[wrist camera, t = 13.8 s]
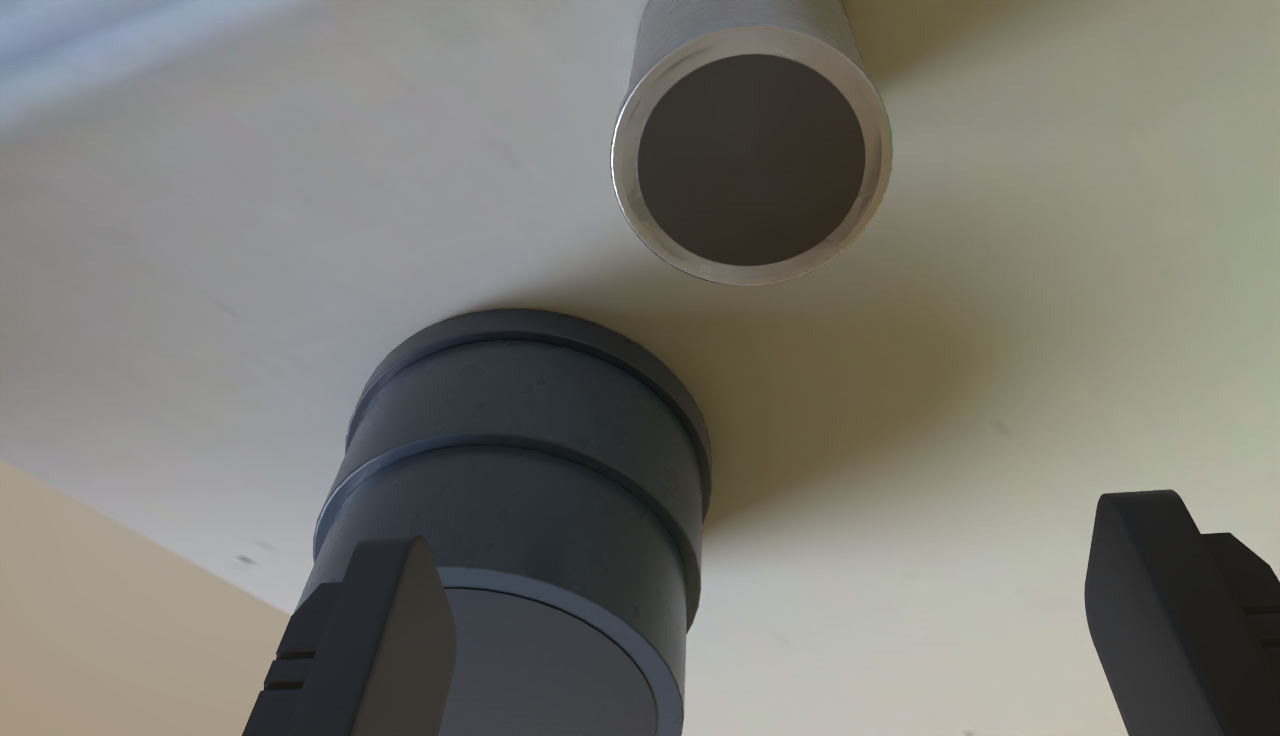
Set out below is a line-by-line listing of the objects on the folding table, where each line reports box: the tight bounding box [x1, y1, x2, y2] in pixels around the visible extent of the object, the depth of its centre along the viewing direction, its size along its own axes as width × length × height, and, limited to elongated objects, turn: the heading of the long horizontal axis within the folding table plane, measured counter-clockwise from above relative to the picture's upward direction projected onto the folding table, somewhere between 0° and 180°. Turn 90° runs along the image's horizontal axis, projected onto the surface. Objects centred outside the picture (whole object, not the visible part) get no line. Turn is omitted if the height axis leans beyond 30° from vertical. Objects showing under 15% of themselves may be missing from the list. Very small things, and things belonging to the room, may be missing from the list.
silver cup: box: [610, 0, 893, 286], centre depth 24 cm, size 6×6×7 cm
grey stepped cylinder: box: [294, 309, 711, 736], centre depth 31 cm, size 12×12×10 cm
